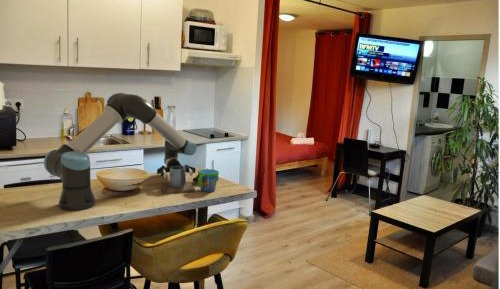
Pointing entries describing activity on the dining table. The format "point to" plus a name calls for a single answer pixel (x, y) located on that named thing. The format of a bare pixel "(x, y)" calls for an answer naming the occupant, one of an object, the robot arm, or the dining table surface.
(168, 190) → the shaft stand
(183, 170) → the grey pen holder
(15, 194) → the dining table surface
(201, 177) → the snack cup
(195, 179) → the black rounded lump
